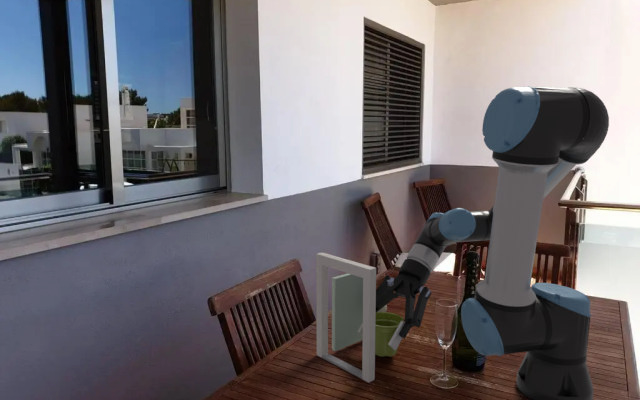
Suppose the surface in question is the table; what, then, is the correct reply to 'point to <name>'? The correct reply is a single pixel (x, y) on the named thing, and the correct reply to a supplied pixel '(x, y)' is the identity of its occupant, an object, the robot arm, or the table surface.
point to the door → (346, 310)
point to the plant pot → (385, 332)
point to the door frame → (368, 312)
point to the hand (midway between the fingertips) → (376, 340)
